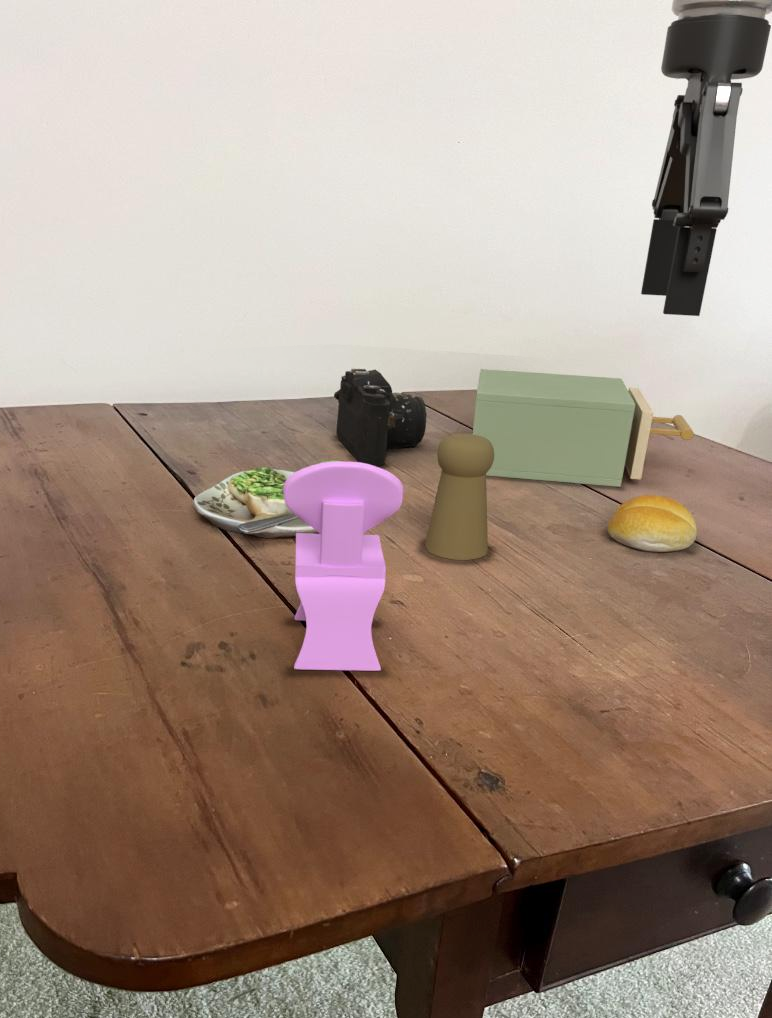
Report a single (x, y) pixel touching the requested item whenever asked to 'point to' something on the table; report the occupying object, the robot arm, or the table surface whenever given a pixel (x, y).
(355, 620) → the toy chair
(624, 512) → the bread roll
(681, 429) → the drawer
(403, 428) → the film camera
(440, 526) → the cork
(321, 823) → the table surface
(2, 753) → the table surface
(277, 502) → the salad plate
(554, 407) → the cabinet
